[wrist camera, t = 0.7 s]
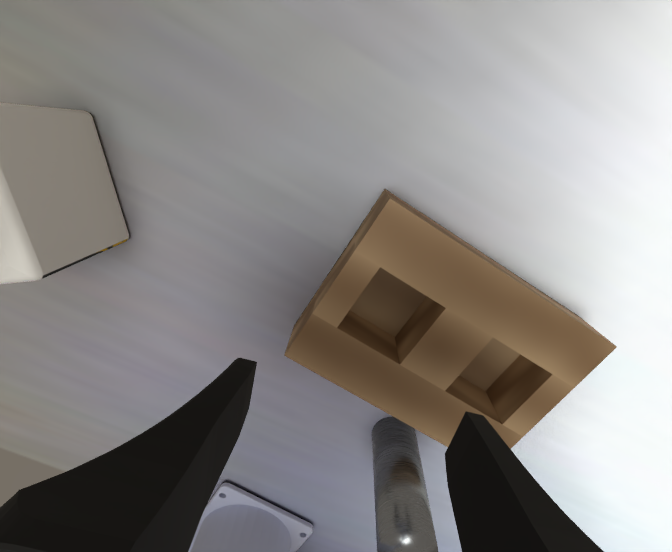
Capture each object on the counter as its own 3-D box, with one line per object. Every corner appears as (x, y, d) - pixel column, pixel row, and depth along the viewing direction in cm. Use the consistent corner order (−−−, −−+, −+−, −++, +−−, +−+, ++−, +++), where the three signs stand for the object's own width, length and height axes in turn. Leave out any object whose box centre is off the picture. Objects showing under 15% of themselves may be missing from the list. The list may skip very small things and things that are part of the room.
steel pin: (398, 457, 27) (414, 580, 20) (363, 438, 27) (365, 556, 19) (424, 430, 26) (450, 547, 19) (388, 409, 26) (400, 521, 18)
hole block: (471, 427, 26) (488, 469, 23) (294, 325, 24) (284, 355, 21) (579, 316, 23) (616, 346, 19) (384, 188, 21) (389, 198, 18)
